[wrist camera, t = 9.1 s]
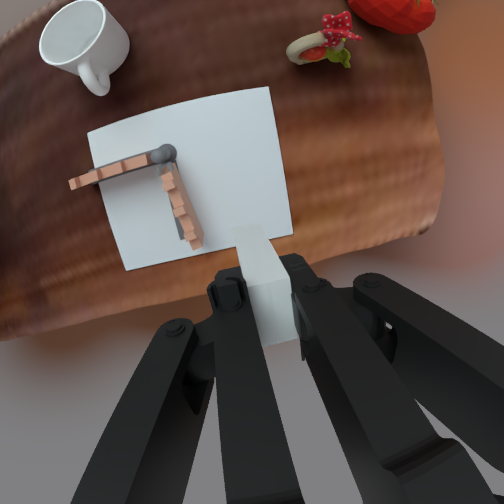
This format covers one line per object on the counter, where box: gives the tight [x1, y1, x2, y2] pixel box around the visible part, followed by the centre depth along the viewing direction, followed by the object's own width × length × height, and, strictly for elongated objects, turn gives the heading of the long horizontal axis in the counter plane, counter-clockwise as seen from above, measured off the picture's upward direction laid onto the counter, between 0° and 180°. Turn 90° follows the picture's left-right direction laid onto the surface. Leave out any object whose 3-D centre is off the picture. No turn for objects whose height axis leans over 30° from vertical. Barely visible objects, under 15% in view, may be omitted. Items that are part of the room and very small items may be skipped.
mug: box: [39, 0, 130, 96], centre depth 23 cm, size 12×8×10 cm
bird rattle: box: [286, 11, 362, 68], centre depth 26 cm, size 6×11×9 cm
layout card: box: [87, 87, 293, 271], centre depth 35 cm, size 25×20×1 cm
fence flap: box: [155, 162, 204, 251], centre depth 32 cm, size 10×2×6 cm, turn 19°
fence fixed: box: [69, 148, 172, 190], centre depth 30 cm, size 12×1×7 cm, turn 100°
